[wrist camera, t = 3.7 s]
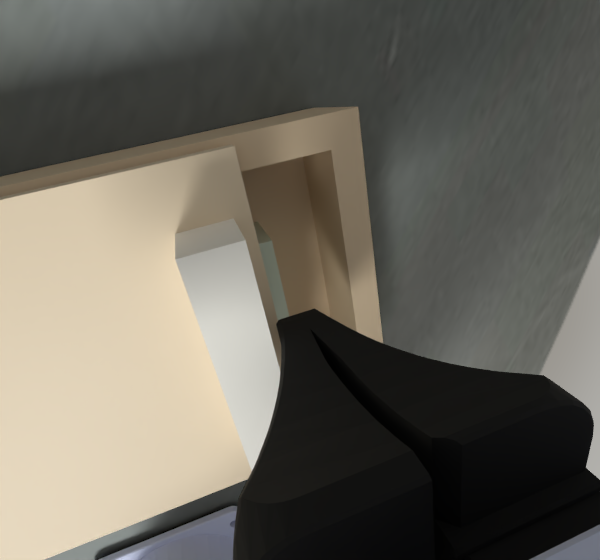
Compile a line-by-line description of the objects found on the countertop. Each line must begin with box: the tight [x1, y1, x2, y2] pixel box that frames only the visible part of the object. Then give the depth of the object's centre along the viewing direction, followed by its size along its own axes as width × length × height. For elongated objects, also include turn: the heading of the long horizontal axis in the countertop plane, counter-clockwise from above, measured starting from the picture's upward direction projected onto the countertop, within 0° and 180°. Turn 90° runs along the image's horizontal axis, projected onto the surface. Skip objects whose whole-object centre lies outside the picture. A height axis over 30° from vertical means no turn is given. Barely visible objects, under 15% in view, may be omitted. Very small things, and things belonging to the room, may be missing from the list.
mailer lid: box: [0, 144, 281, 560], centre depth 10 cm, size 12×16×3 cm
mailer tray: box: [0, 107, 383, 343], centre depth 14 cm, size 12×16×4 cm
